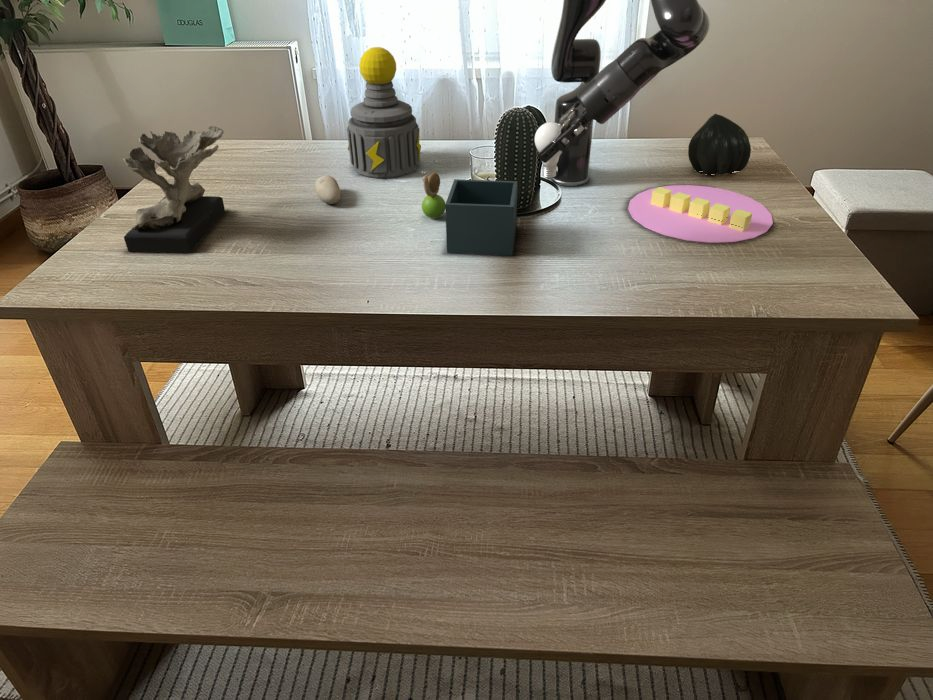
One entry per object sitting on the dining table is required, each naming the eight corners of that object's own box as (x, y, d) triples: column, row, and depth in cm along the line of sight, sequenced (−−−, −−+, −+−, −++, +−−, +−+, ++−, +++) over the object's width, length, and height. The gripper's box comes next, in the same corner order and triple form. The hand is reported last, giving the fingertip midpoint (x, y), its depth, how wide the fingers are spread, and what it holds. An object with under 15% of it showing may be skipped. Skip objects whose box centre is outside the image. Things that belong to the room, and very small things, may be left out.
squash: (760, 164, 170) (755, 106, 172) (697, 167, 170) (693, 109, 172) (740, 185, 184) (735, 130, 186) (682, 188, 185) (678, 133, 186)
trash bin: (455, 225, 157) (454, 179, 150) (516, 227, 155) (517, 181, 149) (446, 253, 146) (445, 204, 139) (512, 256, 144) (513, 206, 138)
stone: (321, 200, 162) (303, 171, 169) (330, 219, 168) (312, 189, 174) (343, 189, 163) (324, 160, 169) (352, 207, 168) (333, 178, 175)
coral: (175, 204, 168) (151, 114, 156) (257, 206, 167) (240, 115, 154) (124, 251, 148) (92, 152, 136) (217, 255, 146) (193, 154, 134)
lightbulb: (544, 186, 136) (547, 129, 130) (527, 176, 140) (528, 120, 134) (571, 180, 138) (575, 124, 132) (553, 170, 143) (556, 115, 137)
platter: (732, 257, 142) (736, 242, 140) (600, 214, 160) (602, 200, 158) (796, 209, 161) (800, 195, 159) (671, 175, 179) (673, 163, 177)
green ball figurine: (415, 221, 159) (412, 170, 152) (429, 210, 163) (427, 160, 157) (436, 225, 157) (434, 174, 150) (450, 215, 161) (448, 164, 154)
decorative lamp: (361, 153, 196) (349, 38, 179) (427, 156, 194) (421, 39, 177) (342, 178, 181) (327, 55, 164) (413, 181, 179) (406, 56, 162)
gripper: (594, 66, 133) (530, 127, 141) (596, 86, 121) (526, 151, 130) (620, 95, 135) (555, 153, 144) (624, 118, 124) (553, 180, 132)
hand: (541, 152), depth 137 cm, fingers closed on lightbulb, 6 cm apart
